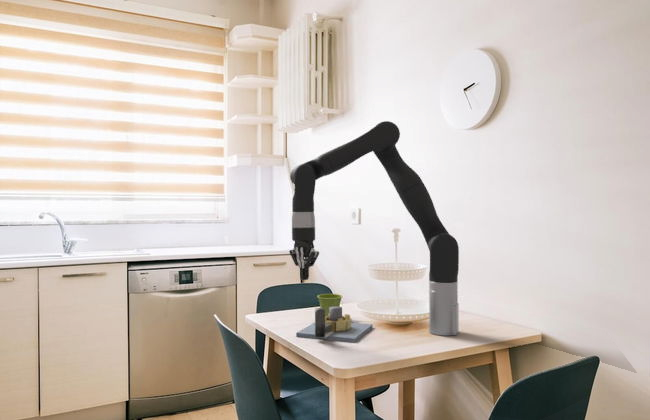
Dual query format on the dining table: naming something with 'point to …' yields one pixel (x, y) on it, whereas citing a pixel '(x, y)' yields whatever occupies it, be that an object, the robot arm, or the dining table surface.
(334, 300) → the plant pot
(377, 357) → the dining table surface
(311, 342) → the dining table surface
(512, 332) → the dining table surface
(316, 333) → the ring with upright handle
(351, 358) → the dining table surface
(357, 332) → the hub board
